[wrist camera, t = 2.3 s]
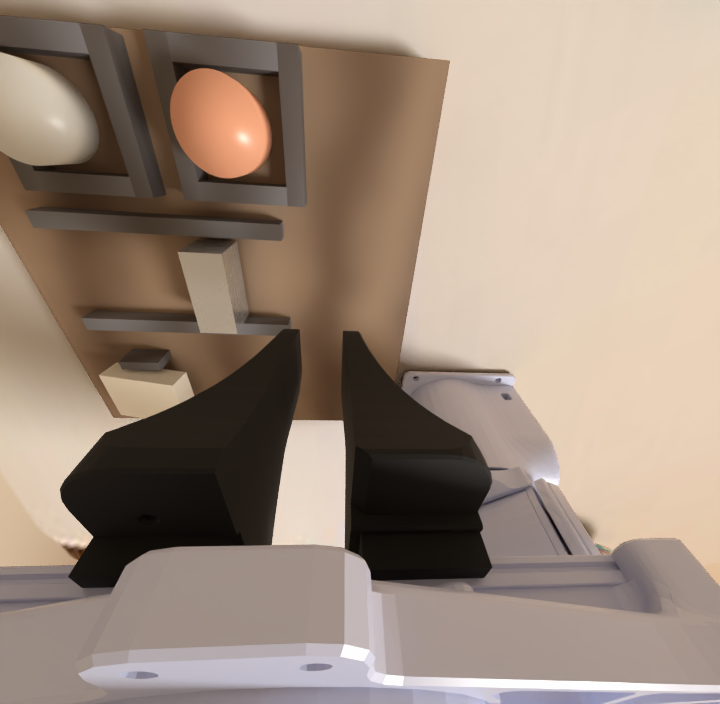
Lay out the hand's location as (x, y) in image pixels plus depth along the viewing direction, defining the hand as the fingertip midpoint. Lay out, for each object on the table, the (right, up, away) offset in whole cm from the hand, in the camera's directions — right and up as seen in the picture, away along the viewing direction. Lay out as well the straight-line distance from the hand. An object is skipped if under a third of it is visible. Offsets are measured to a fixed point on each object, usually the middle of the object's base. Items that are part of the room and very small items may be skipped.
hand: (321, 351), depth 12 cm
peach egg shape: (-4, +9, +1) cm, 10 cm away
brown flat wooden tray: (-6, +5, +8) cm, 11 cm away
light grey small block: (-6, +4, +6) cm, 10 cm away
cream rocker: (-13, -3, +9) cm, 16 cm away
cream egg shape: (-11, +9, 0) cm, 14 cm away
